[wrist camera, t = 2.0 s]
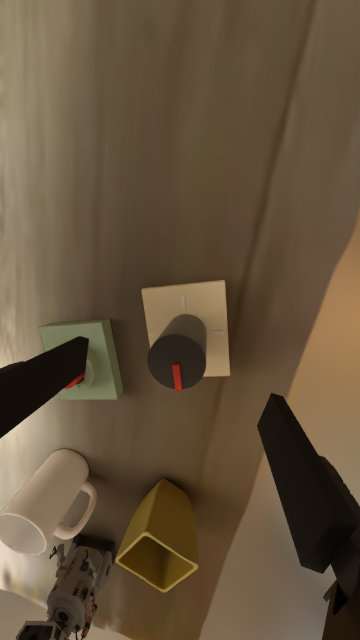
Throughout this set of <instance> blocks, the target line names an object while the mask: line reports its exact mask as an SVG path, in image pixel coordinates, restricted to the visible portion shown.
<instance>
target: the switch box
mask: <svg viewBox="0 0 360 640" xmlns="http://www.w3.org/2000/svg"><path fill="white" fill-rule="evenodd" d="M39 331H40V334H41V338H42V341H43V345H44V348H45V352H46V351H49V350H51V349H53V348H55V347H57V346H59V345H61V344H63V343H65V342H68V341H70V340H72V339H74V338H76V337H78V336H82V337H85V338H89V345H88V354H87V362H86V370H85V374H84V377H83V378H82V379H81V380H80V381H79V382H78V383H77V384H75V385H74V386H73V387H71V388H68V389H63V390H61V391H60V392H59V393H58V398H59V400H117V399H118V398H119V397H120V395H121V394H122V392H123V385H122V380H121V375H120V370H119V365H118V360H117V355H116V350H115V345H114V339H113V334H112V329H111V324H110V319H101V320H89V321H76V322H63V323H50V324H47V325H44V326H41V327H39Z"/></svg>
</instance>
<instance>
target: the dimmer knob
mask: <svg viewBox="0 0 360 640" xmlns="http://www.w3.org/2000/svg"><path fill="white" fill-rule="evenodd" d="M206 355H207V330H206V327H205V325H204V323H203V322H202V321H201V320H200V319H199V318H197V317H196V316H193V315H190V314H183V315H179V316H177V317H175V318H174V319H172V320H171V322H170V323H169V324H168V325H167V327H166V328H165V329H164V331H163V332H162V333H161V334H160V336H159V337H158V338H157V340H156V341H155V342H154V343H153V345H152V346H151V348H150V350H149V353H148V367H149V370H150V372H151V374H152V375H153V377H154V378H155V379H156V380H157V381H158V382H159V383H161V384H162V385H164V386H166V387H169V388H173V389H175V390H176V391H182V389H185V388H189V387H191V386H193V385H195V384H196V383H197V382H199V381H200V379H201V378H202V377H203V375H204V373H205V370H206Z"/></svg>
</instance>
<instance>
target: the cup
mask: <svg viewBox="0 0 360 640" xmlns="http://www.w3.org/2000/svg"><path fill="white" fill-rule="evenodd" d="M88 473H89V468H88V464H87V462H86V461H85V459H84V458H83V457H82V456H81V455H80V454H78V453H77V452H75V451H72V450H69V449H61V450H58V451H55V452H54V453H52V454H51V455H50V456H49V457H48V459H47V460H46V461H45V462H44V463H43V464H42V465H41V467H40V468H39V469H38V470H37V471H36V472H35V473H34V475H33V476H32V477H31V478H30V479H29V480H28V482H27V483H26V484H25V485H24V486H23V487H22V488H21V490H20V491H19V492H18V493H17V494H16V495H15V496H14V498H13V499H12V500H11V501H10V502H9V503H8V505H7V506H6V507H5V508H4V509H3V510H2V511H1V513H0V540H1V541H2V542H3V543H4V544H5V545H6V546H8V547H9V548H11V549H12V550H14V551H16V552H18V553H20V554H23V555H27V556H37V555H40V554H42V553H43V552H44V551H45V550H46V548H47V547H48V545H49V543H50V541H51V540H52V538H53V536H54V535H55V536H57V537H58V538H61V539H65V540H67V539H71V538H73V537H74V536H76V535H77V534H78V533H79V532H80V531H81V530H82V529H83V527H84V526H85V524H86V523H87V521H88V520H89V518H90V516H91V514H92V512H93V510H94V507H95V504H96V500H97V493H96V489H95V488H94V486H93V485H92V484H90V483H88V482H86V480H87V477H88ZM80 490H81V491H84V492H86V493H88V494H89V496H90V502H89V505H88V508H87V510H86V512H85V514H84V515H83V517H82V518H81V519H80V521H79V522H78V523H77V524H76V525H75V526H74V527H72V528H69V527H67V526H65V525H64V524H62V521H63V519H64V518H65V516H66V514H67V512H68V511H69V509H70V507H71V506H72V504H73V502H74V501H75V499H76V497H77V495H78V494H79V492H80Z"/></svg>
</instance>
